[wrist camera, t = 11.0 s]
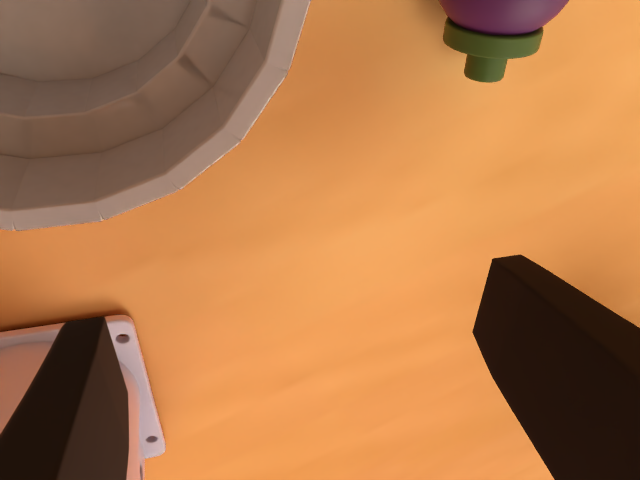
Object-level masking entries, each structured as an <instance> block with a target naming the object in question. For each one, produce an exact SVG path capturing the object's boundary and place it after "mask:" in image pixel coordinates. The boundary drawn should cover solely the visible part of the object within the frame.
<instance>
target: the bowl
mask: <svg viewBox="0 0 640 480" xmlns="http://www.w3.org/2000/svg"><path fill="white" fill-rule="evenodd" d="M310 2H311V0H0V229H2V230H11V231H12V230H16V231H22V230H30V229H39V228H48V227H57V226H65V225H74V224H83V223H91V222H100V221H102V220H103V219H104V220H107V219H109V218H112V217H114V216H117V215H119V214H122V213H124V212H127V211H130V210H132V209H135V208H137V207H140V206H142V205H145V204H147V203H150V202H152V201H155V200H157V199H160V198H162V197H165V196H168V195H170V194H173V193H175V192H177V191H178V189H179V190H181V189H182V188H184V187H185V186H186V185H187V184H189V183H190V182H191V181H192V180H194V179H195V178H196V177H197V176H199V175H200V174H201V173H203V172H204V171H205V170H206V169H208V168H209V167H210V166H211V165H213V164H214V163H215V162H217V161H218V160H219V159H220V158H222V157H223V156H224V155H225V154H227V153H228V152H229V151H231V150H232V149H233V148H234V147H236V146H237V145H238V144H239V143H240V142H241V140H243V139H244V138H245V136H246V135H247V133H248V132H249V130H250V129H251V127H252V126H253V124H254V123H255V121H256V120H257V118H258V117H259V115H260V114H261V113H262V111H263V110H264V108H265V107H266V105H267V104H268V102H269V101H270V99H271V98H272V96H273V95H274V93H275V92H276V90H277V89H278V88H279V86H280V85H281V83H282V82H283V80H284V79H285V77H286V76H287V74H288V70H289V69H290V68H291V65H292V61H293V58H294V55H295V51H296V48H297V45H298V42H299V38H300V35H301V32H302V28H303V25H304V22H305V19H306V15H307V12H308V9H309V5H310Z"/></svg>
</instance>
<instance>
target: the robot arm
mask: <svg viewBox="0 0 640 480" xmlns="http://www.w3.org/2000/svg"><path fill="white" fill-rule="evenodd" d="M120 334H126V336H119V335H120ZM473 334H474V337H475V339H476V341H477V344H478V346H479V348H480V351H481V353H482V356H483V358H484V360H485V362H486V364H487V366H488V369H489V371H490V373H491V375H492V377H493V379H494V381H495V382H496V384H497V386H498V388H499V389H500V391H501V393H502V394H503V396H504V398H505V399H506V401H507V403H508V404H509V406H510V408H511V409H512V411H513V413H514V414H515V416H516V417H517V419H518V421H519V422H520V424H521V426H522V427H523V429H524V430H525V432H526V434H527V435H528V437H529V439H530V440H531V442H532V443H533V445H534V447H535V448H536V450H537V452H538V453H539V455H540V456H541V458H542V460H543V461H544V463H545V465H546V466H547V468H548V469H549V471H550V473H551V474H552V476H553V478H554V479H555V480H640V328H639V327H637V326H636V325H634V324H632V323H631V322H629V321H627V320H626V319H624V318H622V317H621V316H619V315H618V314H616V313H614V312H613V311H611V310H609V309H608V308H606V307H605V306H603V305H601V304H600V303H598V302H597V301H595V300H594V299H592V298H590V297H589V296H587V295H586V294H584V293H582V292H581V291H579V290H578V289H576V288H575V287H573V286H571V285H570V284H568V283H567V282H565V281H564V280H562V279H560V278H559V277H557V276H556V275H554V274H553V273H551V272H549V271H548V270H546V269H545V268H543V267H541V266H540V265H538V264H536V263H535V262H533V261H531V260H529V259H528V258H526V257H524V256H522V255H514V256H507V257H501V258H494V259H492V263H491V266H490V270H489V273H488V277H487V281H486V284H485V288H484V292H483V295H482V299H481V303H480V306H479V310H478V314H477V317H476V321H475V325H474V328H473ZM165 450H166V443H165V439H164V435H163V431H162V427H161V424H160V420H159V416H158V412H157V409H156V405H155V401H154V397H153V394H152V390H151V386H150V382H149V378H148V375H147V371H146V367H145V363H144V360H143V356H142V352H141V348H140V345H139V341H138V337H137V333H136V330H135V326H134V322H133V320H132V318H130V317H129V316H126V315H113V316H106V317H105V316H103V317H96V318H89V319H82V320H76V321H69V322H66V323H59V324H52V325H45V326H39V327H32V328H25V329H18V330H12V331H5V332H0V480H145V459H146V458H151V457H156V456H159V455H161V454H163V453H164V452H165Z"/></svg>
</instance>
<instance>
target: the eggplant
mask: <svg viewBox="0 0 640 480" xmlns="http://www.w3.org/2000/svg"><path fill="white" fill-rule="evenodd" d="M568 1H569V0H439V2H440V5H441V6H442V8H443V10H444V11H445V13H446V14H447V16H448V18H447V19H446V21H445V28H444V34H443V40H444V42H445V44H446V45H447V46H449V47H450V48H452V49H454V50H457V51H459V52H462V53H465V54H467V58H466V64H465V69H464V74H465V76H466V77H468V78H469V79H472V80H475V81H479V82H497V81H500V80H501V79H502V78H503V77H504V72H505V68H506V64H507V59H513V58H521V57H526V56H530V55H532V54H534V53H536V52H537V51H538V49H539V46H540V42H541V39H542V35H543V27H542V26H544V25H545V24H546V23H548V22H549V21H550V20H551V19H553V18H554V17H555V16H556V15H557V14H558V13H559V12H560V11H561V10H562V9H563V7H564V6H565V5H566V4H567V3H568Z"/></svg>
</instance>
